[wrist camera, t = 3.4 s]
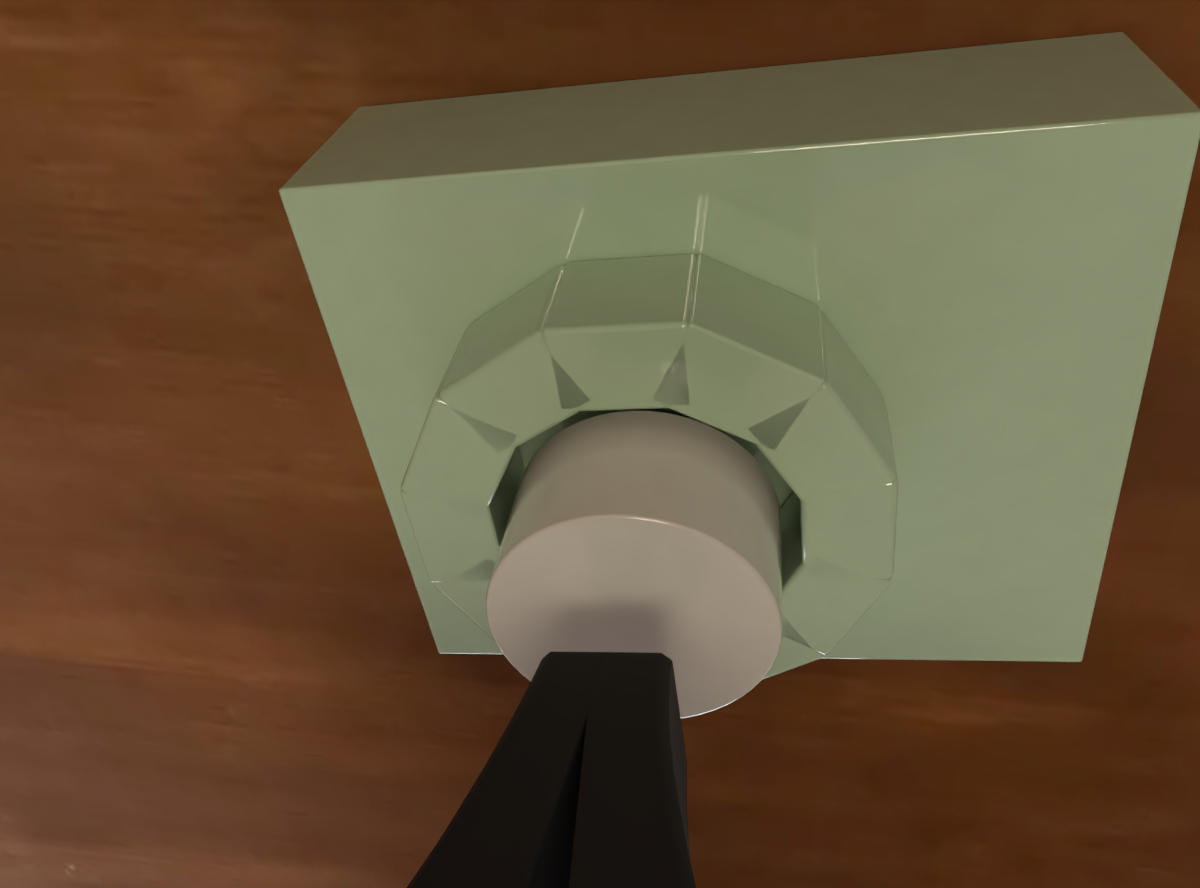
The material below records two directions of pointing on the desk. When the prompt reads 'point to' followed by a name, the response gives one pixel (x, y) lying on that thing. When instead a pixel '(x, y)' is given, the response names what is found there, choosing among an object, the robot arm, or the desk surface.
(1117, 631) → the desk surface
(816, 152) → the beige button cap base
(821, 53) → the desk surface
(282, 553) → the desk surface
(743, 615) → the beige button cap
